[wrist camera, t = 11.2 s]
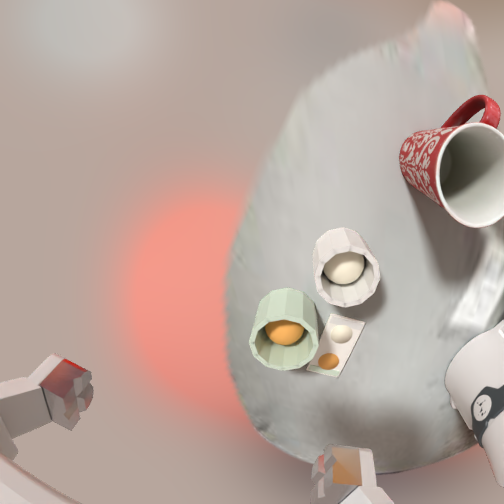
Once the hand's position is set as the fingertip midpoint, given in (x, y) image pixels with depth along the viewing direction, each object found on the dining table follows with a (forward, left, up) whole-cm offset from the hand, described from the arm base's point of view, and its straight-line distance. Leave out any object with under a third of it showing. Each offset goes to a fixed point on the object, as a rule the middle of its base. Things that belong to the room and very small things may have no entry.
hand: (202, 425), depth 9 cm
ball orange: (-5, +13, -31) cm, 34 cm away
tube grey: (-9, +3, -31) cm, 33 cm away
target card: (-13, +16, -31) cm, 37 cm away
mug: (-16, -13, -31) cm, 37 cm away
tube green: (-5, +13, -31) cm, 34 cm away
